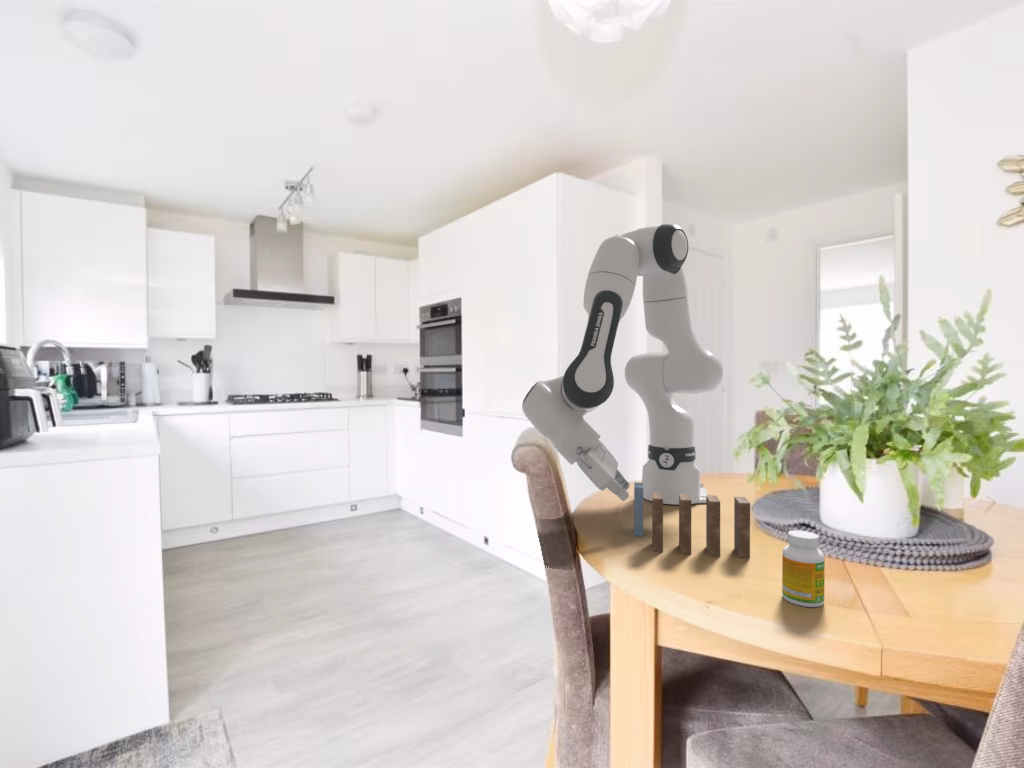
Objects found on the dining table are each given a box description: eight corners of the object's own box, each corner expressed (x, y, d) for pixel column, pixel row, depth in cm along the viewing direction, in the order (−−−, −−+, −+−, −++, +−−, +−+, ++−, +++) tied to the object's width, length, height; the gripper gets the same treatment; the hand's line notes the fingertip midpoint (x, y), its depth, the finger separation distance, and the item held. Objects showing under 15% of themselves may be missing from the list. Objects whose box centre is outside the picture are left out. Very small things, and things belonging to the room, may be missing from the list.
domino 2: (652, 551, 97) (653, 498, 97) (652, 543, 102) (652, 492, 102) (662, 552, 97) (663, 498, 97) (661, 543, 102) (661, 493, 101)
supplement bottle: (821, 611, 72) (822, 542, 72) (778, 601, 76) (779, 535, 76) (826, 598, 77) (826, 533, 77) (785, 589, 80) (786, 526, 80)
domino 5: (739, 558, 94) (739, 502, 94) (734, 548, 99) (734, 496, 98) (749, 558, 93) (750, 503, 93) (744, 549, 98) (744, 496, 98)
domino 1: (634, 535, 107) (634, 487, 107) (634, 528, 112) (634, 482, 112) (643, 536, 106) (643, 487, 106) (643, 529, 111) (643, 482, 111)
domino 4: (709, 555, 95) (709, 501, 95) (706, 547, 100) (706, 495, 100) (720, 556, 94) (720, 501, 94) (716, 547, 99) (716, 495, 99)
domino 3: (680, 553, 96) (681, 499, 96) (678, 545, 101) (679, 493, 101) (691, 554, 96) (691, 500, 95) (688, 545, 100) (688, 494, 100)
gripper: (586, 441, 101) (637, 493, 99) (594, 430, 121) (638, 474, 119) (563, 463, 102) (613, 515, 100) (575, 448, 122) (618, 492, 120)
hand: (627, 492), depth 109 cm, fingers open, 8 cm apart
